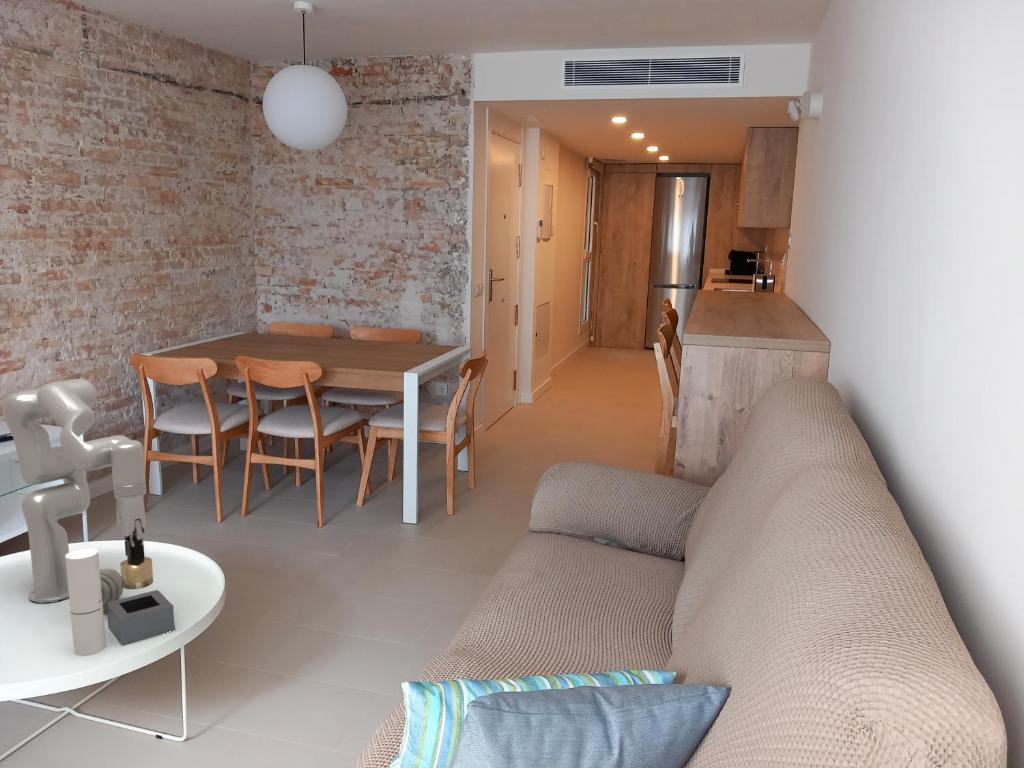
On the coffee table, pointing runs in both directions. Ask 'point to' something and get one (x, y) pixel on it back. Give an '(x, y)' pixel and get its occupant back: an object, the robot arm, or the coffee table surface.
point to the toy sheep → (110, 586)
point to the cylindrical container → (85, 601)
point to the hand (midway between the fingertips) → (135, 556)
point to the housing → (140, 617)
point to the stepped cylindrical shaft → (136, 571)
